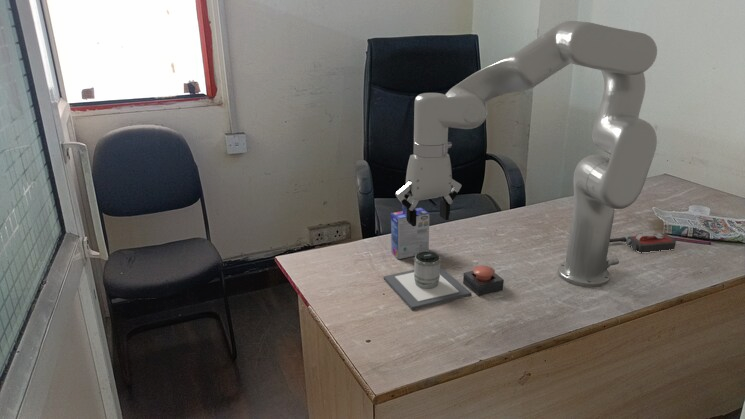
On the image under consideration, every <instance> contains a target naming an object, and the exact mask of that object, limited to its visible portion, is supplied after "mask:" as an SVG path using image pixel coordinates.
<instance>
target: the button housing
mask: <svg viewBox="0 0 745 419" xmlns="http://www.w3.org/2000/svg"><path fill="white" fill-rule="evenodd" d="M462 281H463V282H462V285H465V286H466V287H467V288H468V289H469V291H470V290H471V291H472V292H473V293H474V294H475V295H476V296H477V297H481V296H482V297H483V296H486V295H489V294H495V293H498V292H502V291H503V290H504V283H505V282H504V281H505V280H504V279H503V277H501V276H499V275H498V274H497V273H496V272H495V274H494V275H493V276H492V277H491V280H487V281H483V282H480V281H479V280H478V279H477V278H476V275H475V274H474V273H473V270H470V271H465V272H463V280H462Z"/></svg>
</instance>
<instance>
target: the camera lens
mask: <svg viewBox="0 0 745 419" xmlns="http://www.w3.org/2000/svg"><path fill="white" fill-rule="evenodd" d="M440 266H441V257H440V256H439V255H438V254H437V253H436V252H433V251H429V252H421V253H418V254H417V255H416V256H414V269H413V270H414V279H415V284H416V285H417V286H418V287H420V288H423V289H432V288H435V287H436V286H437V285H438V282H439V278H440Z"/></svg>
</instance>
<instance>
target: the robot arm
mask: <svg viewBox="0 0 745 419" xmlns="http://www.w3.org/2000/svg"><path fill="white" fill-rule="evenodd" d="M657 55H658V47H657V43H656V42H655V40H654V39H653V37H651V36H650V35H649V34H647V33H643V32H640V31H634V30H628V29H623V28H618V27H611V26H608V25H603V24H600V23H599V24H598V23H594V22H590V21H589V22H588V21H578V20H567V21H564V22H561V23H559V24H557V25H555V26H554V27H551V28H550V29H549V30H547V31H545V33H543V34H541V35H540V36H538V37H537V38H534V40H532V41H530V42H529V43H527V44H526V45H524V46H523V47H522V48H520V49H519V50H517V51H516V52H513V54H511V55H510V56H507V57H504V58H502V59H501V60H498V61H497V62H494V63H491V64H490V65H488V66H486V67H484V68H482V69H479V70H477V71H475V72H474V73H472V74H471V75H469V76H467V77H466V78H465V79H463V80H462V81H460V82H459V83H456V84H455V85H454V86H452V87H451V88H450V89H449V90H448V91H447V92H446V93H445V94H444V93H439V92H423V93H420V94H418V95H417V96H415V99H414V103H413V104H414V108H413V110H414V111H413V112H414V113H413V114H414V116H413V118H414V119H413V154H410V155H409V159H408V163H407V168H406V175H405V185H403V186H402V187H401V188H399V189H398V190H397V191H396V192H395V194H394V195H395V197H396V198H397V200H398V201H399V203H401V205H402V204H403V205H404V206H405V209H407V221H408V223H409V224H411V225H412V226H416V210H415V209H416V207H417V205H418V203H419V202H420V201H424V200H425V201H426V200H431V199H436V198H441V200H440V202H439V217H440V218H441V219H444V220H445V221H449V220H450V217H449V216H450V214H451V205H452V204H453V202H454V201H453V200H454V199H455V198H456V197H457V195H458V192H460V190H461V188H462V184H461V183H460V182H458V181H456V180H455V179H453V174H452V162H451V158H450V154H449V153H448V152H449V149H452V146H453V143H452V141H448V140H449V139H448V137H449V135H448V134H449V128H453V129H462V130H472V129H475V128H478V127H480V126H481V125H482V124H483V123H484V122H485V121H486V119H487V116H488V105H487V102H489V101H491V100H492V99H495V98H498V97H499V96H503V95H506V94H514V93H521V92H525V91H528V90H529V91H530V90H532V89H534V88H535V87H536V86H538V85H539V84H541V83H543V81H545V80H546V79H548V78H550V77H553V75H554V74H556V73H558V72H559V71H562V69H564V68H566V67H567V66H569V65H575V66H581V67H586V68H590V69H594V70H597V71H601V72H600V73H601V74H602V77H603V83H604V84H603V86H604V87H603V88H604V89H603V93H602V97H601V101H600V105H599V107H598V111H597V115H596V117H595V120H594V123H593V124H594V125H593V128H592V131H591V140H592V143H593V144H594V146H595V147H597V148H598V149H599V150H602V151H603V152H605V153H607V154H609V155H610V157H608V156H605V155H602V154H591V155H587V156H586V157H584V158H582V159H581V160H580V161H579V162H577V165H576V167H575V169H574V172H573V181H572V182H573V204H572V205H573V206H572V214H571V220H570V226H569V227H570V228H569V235H568V236H569V237H568V240H567V242H568V243H567V249H566V256H565V261H564V262H561V263H560V264H559V265H558V268H557V273H558V275H559V276H560V277H561V279H563V280H565V281H566V282H568V283H570V284H573V285H576V286H581V287H587V288H589V287H590V288H591V287H592V288H593V287H594V288H595V287H601V286H605V285H607V284H608V283H610V280H611V274H610V272H609V270H608V269H609V268H610V267H611V266H617V265H619V263H620V259H619V258H618V257H617V256H615V257H610V258H608V254H609V253H608V252H609V248H610V243H611V242H610V239H611V236H612V235H611V234H612V229H613V223H614V218H615V210H622V209H626V208H628V207H630V206H631V205H633V204H634V203H635V202H636V200H637V199H638V198H639V196H641V192H642V190H643V188H644V185H645V182H646V180H647V177H648V174H649V171H650V168H651V165H652V162H653V159H654V158H655V157H654V156H655V153H656V150H657V144H658V139H657V137H658V136H657V134H656V133H657V132H656V130H655V128H654V127H653V125H652V124H651V123H649V122H647V121H646V120H644V119H641V118H640V117H639V116H640V113H641V108H642V105H643V101H644V99H645V98H644V97H645V94H646V77H645V72H646V71H648V70H649V69H650V68H651V67H652V66H653V64H654V63H655V61H656V59H657V57H658V56H657ZM406 195H407V196H408V197H407V199H406V197H405V196H406ZM414 208H415V209H414Z"/></svg>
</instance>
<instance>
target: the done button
mask: <svg viewBox="0 0 745 419" xmlns="http://www.w3.org/2000/svg"><path fill="white" fill-rule="evenodd" d="M472 271H473V273H474V274H475V275H476V278H477V279H478V280H479V281H480V282H483V281H487V280H491V277H492V276H493V275H494V274H495V273H496V272H495V269H494V268H493V267H490V266H488V265H477V266H475V267H473V270H472Z"/></svg>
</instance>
